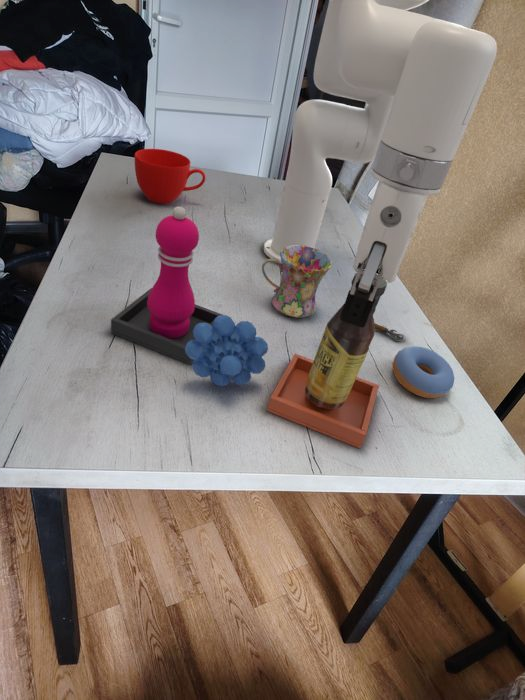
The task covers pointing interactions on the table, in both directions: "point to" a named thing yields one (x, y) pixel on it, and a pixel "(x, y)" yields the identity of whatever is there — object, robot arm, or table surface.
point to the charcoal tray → (137, 330)
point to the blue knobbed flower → (226, 351)
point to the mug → (298, 279)
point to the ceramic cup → (163, 174)
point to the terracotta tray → (336, 423)
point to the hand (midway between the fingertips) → (356, 311)
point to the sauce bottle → (340, 357)
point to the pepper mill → (173, 276)
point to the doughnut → (423, 372)
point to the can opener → (391, 333)
